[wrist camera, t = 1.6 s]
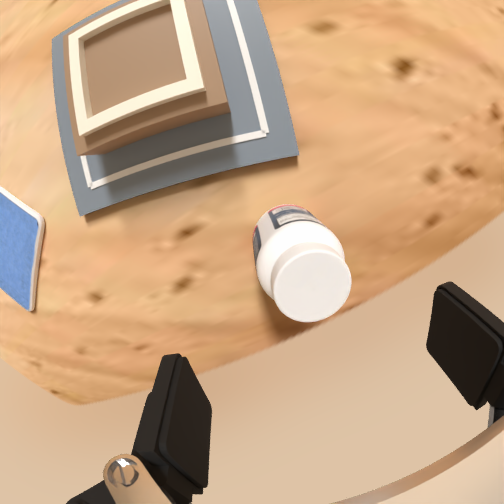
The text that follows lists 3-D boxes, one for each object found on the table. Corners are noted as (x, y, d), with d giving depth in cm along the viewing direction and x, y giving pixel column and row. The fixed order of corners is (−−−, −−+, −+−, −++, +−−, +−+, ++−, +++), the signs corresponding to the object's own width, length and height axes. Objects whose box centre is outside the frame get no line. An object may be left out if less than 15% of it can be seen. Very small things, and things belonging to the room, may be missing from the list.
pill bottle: (288, 279, 23) (310, 349, 14) (238, 241, 21) (235, 298, 13) (332, 232, 21) (381, 281, 13) (284, 188, 20) (312, 214, 12)
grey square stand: (243, -30, 13) (244, -67, 8) (297, 154, 19) (316, 155, 14) (56, 41, 14) (22, 26, 9) (84, 214, 20) (46, 233, 15)
